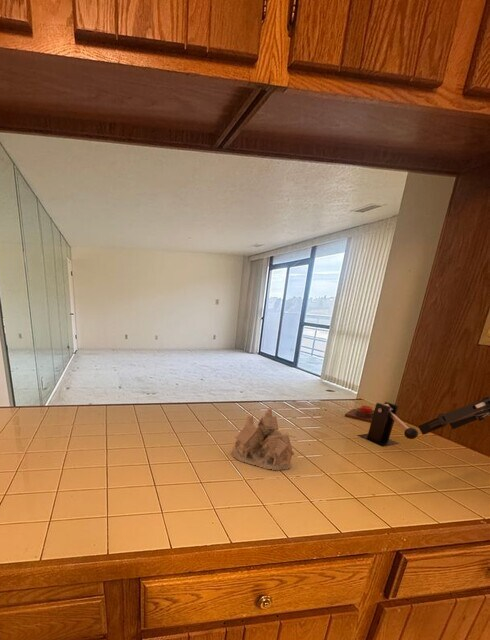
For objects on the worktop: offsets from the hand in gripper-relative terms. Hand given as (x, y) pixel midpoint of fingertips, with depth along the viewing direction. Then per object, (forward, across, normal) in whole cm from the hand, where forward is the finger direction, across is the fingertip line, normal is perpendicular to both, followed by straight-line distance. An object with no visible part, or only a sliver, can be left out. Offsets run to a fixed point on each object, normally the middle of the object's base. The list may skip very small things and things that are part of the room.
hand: (436, 427), depth 101 cm
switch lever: (+11, 0, -6) cm, 12 cm away
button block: (+33, -16, -16) cm, 40 cm away
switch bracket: (+20, 0, -3) cm, 20 cm away
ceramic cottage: (+22, +46, -5) cm, 52 cm away
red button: (+30, -16, -19) cm, 39 cm away
